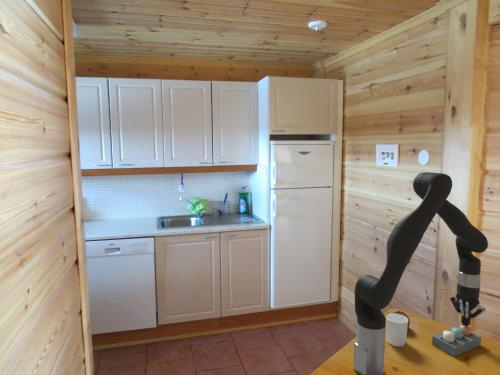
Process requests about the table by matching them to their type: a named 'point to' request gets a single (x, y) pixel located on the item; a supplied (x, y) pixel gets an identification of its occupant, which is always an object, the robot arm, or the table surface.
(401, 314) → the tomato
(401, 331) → the white cup
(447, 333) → the ivory button
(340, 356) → the table surface
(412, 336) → the table surface
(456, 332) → the teal button
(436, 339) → the button panel
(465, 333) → the pink cube
